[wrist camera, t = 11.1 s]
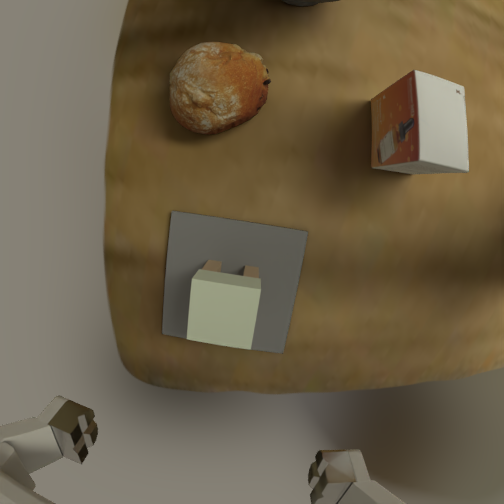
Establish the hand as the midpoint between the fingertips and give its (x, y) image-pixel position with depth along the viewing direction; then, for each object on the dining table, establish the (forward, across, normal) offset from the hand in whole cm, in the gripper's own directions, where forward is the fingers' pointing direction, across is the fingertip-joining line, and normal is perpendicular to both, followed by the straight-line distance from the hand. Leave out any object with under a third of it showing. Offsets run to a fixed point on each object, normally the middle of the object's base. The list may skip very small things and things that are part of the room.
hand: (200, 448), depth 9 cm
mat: (+23, +1, +2) cm, 23 cm away
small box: (+24, -14, -17) cm, 33 cm away
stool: (+23, +1, +2) cm, 23 cm away
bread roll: (+24, +5, -19) cm, 31 cm away
